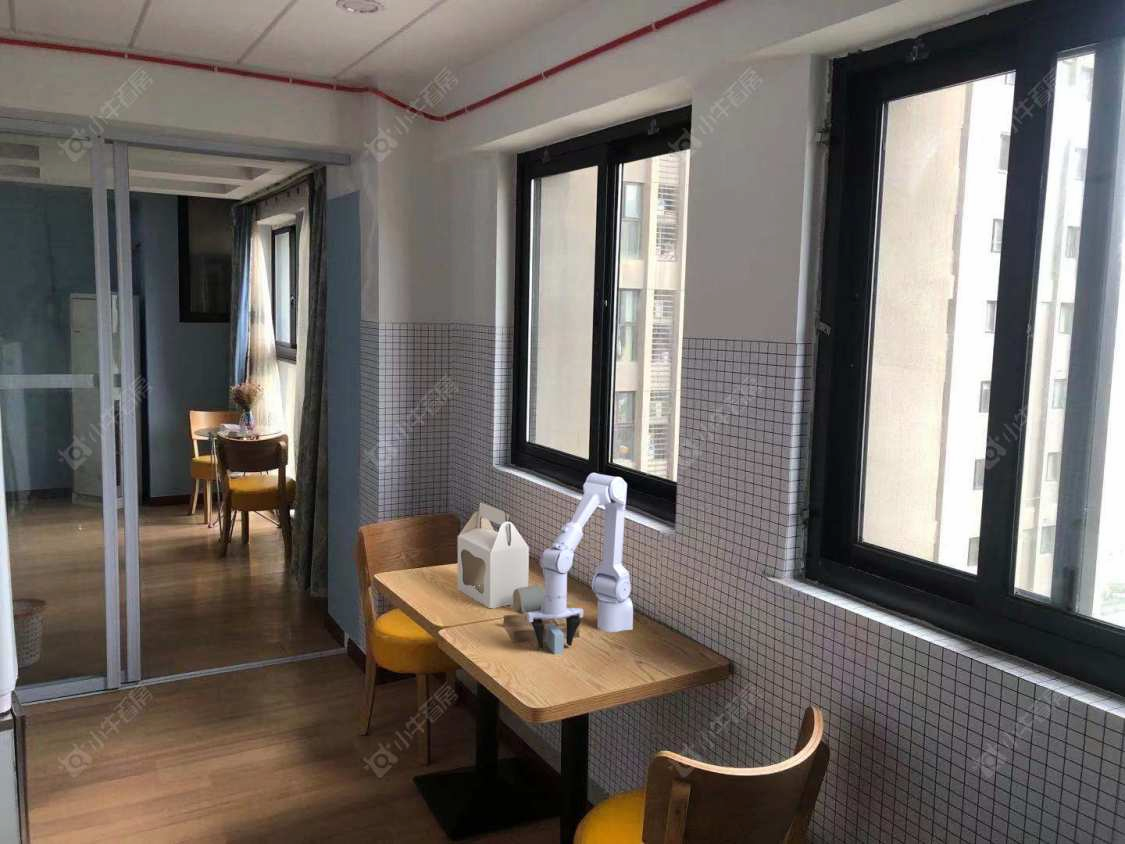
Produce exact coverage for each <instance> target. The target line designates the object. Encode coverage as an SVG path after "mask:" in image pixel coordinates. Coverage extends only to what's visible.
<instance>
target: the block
mask: <svg viewBox="0 0 1125 844" xmlns="http://www.w3.org/2000/svg"><path fill="white" fill-rule="evenodd" d="M564 641H565V639H564V634H563V632H562V631H561V630H560V629H559V628H558V627H557V626H556V625H555V624H546V640H545V645H546V646H547V647H548V648H549V649H550V651H551V652H552V653H553V654H554V655H563V654H564V653H565V650H564V649H565V647H564V646H565V642H564Z"/></svg>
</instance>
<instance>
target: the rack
mask: <svg viewBox="0 0 1125 844" xmlns="http://www.w3.org/2000/svg"><path fill="white" fill-rule="evenodd" d="M550 621H552V619H549V620H542V622H543V625H544V632H543V641H546V624H550ZM580 627H581V626H580V625H579V626H578V628H577V630H576V632H575V634H574V637H573V639H575V638H580V630H581V629H580ZM503 628H504V629H505V631H506V633H507V634H508V636H509V638H510V639H511V641H512V643H514V644H515V643H516V644H517V643H526V642H528V643H529V642H538V641H537V636H536V633H535V630H534V628H533V626H532V623H531V622H529V621H528V620H527V614H523V613H519V614H507V615H506V614H504V615H503ZM558 628H559V629H560V630H561V631H562V632H563V634H564V640H565V639H566V637H567V626H560V627H558Z"/></svg>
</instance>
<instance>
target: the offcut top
mask: <svg viewBox="0 0 1125 844" xmlns="http://www.w3.org/2000/svg"><path fill="white" fill-rule="evenodd" d="M552 622H553V624H555V625H556V626H557V627H560V626H567V624H566V618H560V619H552Z"/></svg>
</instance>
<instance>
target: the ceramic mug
mask: <svg viewBox="0 0 1125 844" xmlns="http://www.w3.org/2000/svg"><path fill="white" fill-rule="evenodd" d="M544 599H545V590H544V589H543V586H542V585H541V584H535V585H528V587H522V588H518V589H515V591H514V593H513V602H514V605H513V607H514V610H515V611H516V612H519V613H521V614H527V613H528V612H535V611H539V610H543V609H544Z"/></svg>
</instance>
